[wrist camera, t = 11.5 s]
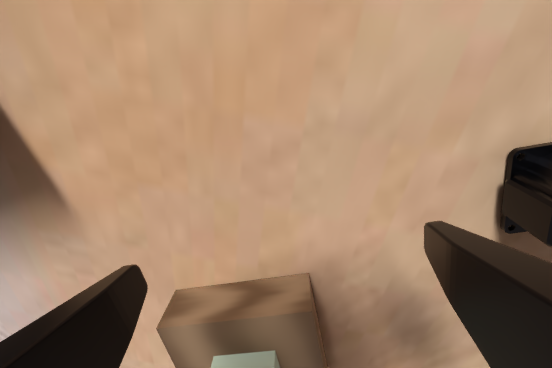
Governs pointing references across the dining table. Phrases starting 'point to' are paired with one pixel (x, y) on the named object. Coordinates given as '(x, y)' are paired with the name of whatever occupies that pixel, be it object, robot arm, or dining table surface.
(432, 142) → the dining table surface
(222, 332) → the walnut base
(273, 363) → the sage cube
